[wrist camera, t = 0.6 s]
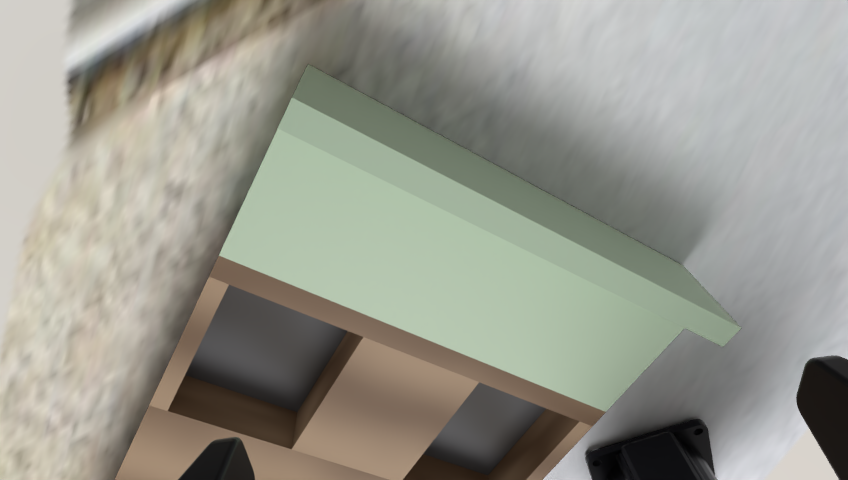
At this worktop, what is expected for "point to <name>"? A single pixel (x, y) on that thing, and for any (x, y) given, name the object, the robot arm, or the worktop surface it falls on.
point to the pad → (459, 249)
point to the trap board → (340, 396)
